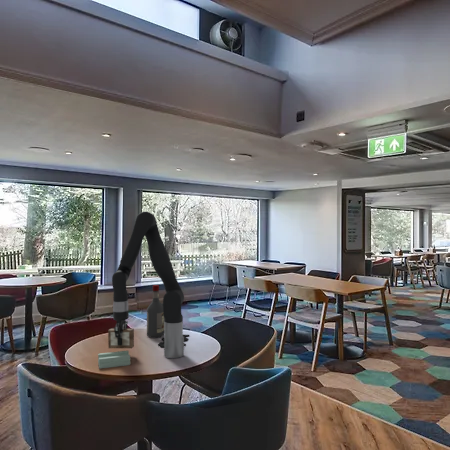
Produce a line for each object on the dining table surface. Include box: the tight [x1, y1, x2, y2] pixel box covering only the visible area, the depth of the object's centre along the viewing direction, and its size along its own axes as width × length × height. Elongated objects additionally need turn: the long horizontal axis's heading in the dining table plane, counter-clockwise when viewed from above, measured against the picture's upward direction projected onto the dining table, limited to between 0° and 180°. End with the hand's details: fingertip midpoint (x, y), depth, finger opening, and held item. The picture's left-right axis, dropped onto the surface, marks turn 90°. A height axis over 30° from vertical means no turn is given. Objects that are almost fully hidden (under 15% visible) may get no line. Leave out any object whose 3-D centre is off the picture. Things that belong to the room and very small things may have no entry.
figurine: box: [157, 333, 190, 349], centre depth 214 cm, size 16×1×30 cm
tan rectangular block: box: [107, 328, 135, 349], centre depth 192 cm, size 12×4×9 cm, turn 86°
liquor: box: [146, 284, 164, 339], centre depth 228 cm, size 9×9×30 cm
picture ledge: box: [97, 350, 131, 370], centre depth 181 cm, size 14×10×4 cm
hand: (121, 343), depth 192 cm, fingers closed on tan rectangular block, 3 cm apart
